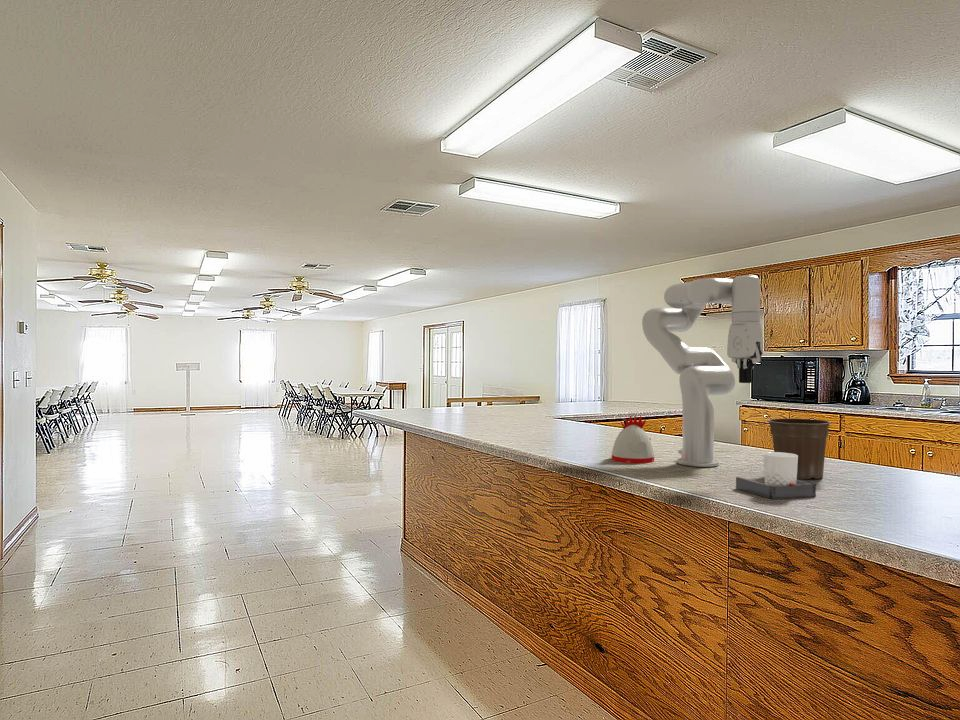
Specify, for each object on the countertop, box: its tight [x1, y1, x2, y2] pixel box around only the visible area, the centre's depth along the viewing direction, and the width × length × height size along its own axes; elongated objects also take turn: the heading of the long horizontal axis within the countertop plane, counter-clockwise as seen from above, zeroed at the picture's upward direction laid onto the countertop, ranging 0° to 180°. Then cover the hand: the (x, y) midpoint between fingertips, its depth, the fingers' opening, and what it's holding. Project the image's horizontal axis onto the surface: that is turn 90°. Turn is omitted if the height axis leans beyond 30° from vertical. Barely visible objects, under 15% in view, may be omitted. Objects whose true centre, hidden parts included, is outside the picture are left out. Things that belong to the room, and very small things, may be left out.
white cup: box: [762, 451, 798, 486], centre depth 156 cm, size 8×8×10 cm
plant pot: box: [767, 417, 832, 480], centre depth 180 cm, size 16×16×16 cm
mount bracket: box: [735, 476, 817, 500], centre depth 158 cm, size 13×13×3 cm
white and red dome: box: [611, 415, 655, 464], centre depth 208 cm, size 14×14×15 cm
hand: (745, 382), depth 179 cm, fingers closed
